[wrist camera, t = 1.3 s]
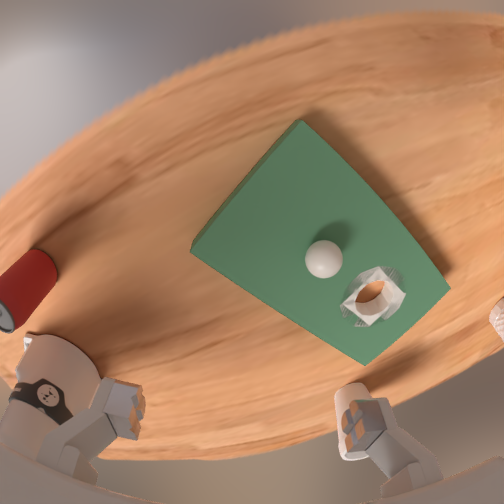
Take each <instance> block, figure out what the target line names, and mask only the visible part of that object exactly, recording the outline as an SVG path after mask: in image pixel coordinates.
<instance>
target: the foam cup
mask: <svg viewBox="0 0 504 504" xmlns="http://www.w3.org/2000/svg"><path fill="white" fill-rule="evenodd" d="M334 398H335V408H336V417H337V427H338V436H339V445H338V447H339V451H340V455H341V457H342V458H343V459H344V460H350V461H351V460H359V459H363V458H366V457H369V456H368V454H367V453H366V452H365V451H359V452H349V453H347V449H346V445H345V438H346V436H347V435H346V434H345V433H344V432H343V431H342V426H341V420H342V415H343V413H344V412H345V411H346V410H347V409H349V408H350V407H349V404H350V402H351V401H353V400H360V399H371V398H372V396H371V395H370V393H369V391H368V390H367V388H366V387H365V385H364V384H362V383H351V384H348V385H345V386H344V387H342V388H340V389H339V390H338V391H337V392H336V393H335V396H334Z"/></svg>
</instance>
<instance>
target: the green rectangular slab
mask: <svg viewBox="0 0 504 504" xmlns="http://www.w3.org/2000/svg"><path fill="white" fill-rule="evenodd" d="M320 240H328V241H331V242H333V243H335V244H336V245H337V246H338V247H339V248H340V250H341V252H342V256H343V262H342V266H341V268H340V270H339V271H338V272H337V273H336V274H335V275H334V276H332V277H329V278H319V277H316V276H314V275H313V274H311V273H310V271H309V270H308V268H307V266H306V263H305V256H306V252H307V250H308V248H309V247H310V246H311V245H312V244H313V243H315V242H317V241H320ZM190 253H192V254H193V255H195V256H196V257H197V258H199V259H200V260H202V261H203V262H205V263H206V264H208V265H209V266H211V267H212V268H213V269H215V270H216V271H218V272H219V273H221V274H222V275H224V276H225V277H227V278H228V279H230V280H231V281H233V282H234V283H236V284H237V285H239V286H240V287H242V288H243V289H245V290H246V291H248V292H249V293H251V294H252V295H254V296H255V297H257V298H258V299H260V300H261V301H263V302H264V303H266V304H267V305H269V306H270V307H272V308H273V309H275V310H276V311H278V312H279V313H281V314H283V315H284V316H286V317H287V318H289V319H290V320H292V321H293V322H295V323H297V324H298V325H300V326H301V327H303V328H304V329H306V330H307V331H309V332H311V333H312V334H314V335H315V336H317V337H319V338H320V339H322V340H323V341H325V342H327V343H328V344H330V345H331V346H333V347H335V348H336V349H338V350H339V351H341V352H343V353H344V354H346V355H347V356H349V357H351V358H352V359H354V360H356V361H357V362H359V363H361V364H362V365H364V366H366V365H367V364H368V363H370V362H371V361H372V360H373V359H375V358H376V357H377V356H378V355H380V354H381V353H382V352H383V351H384V350H386V349H387V348H388V347H389V346H390V345H392V344H393V343H394V342H395V341H396V340H397V339H399V338H400V337H401V336H402V335H403V334H404V333H405V332H406V331H408V330H409V329H410V328H411V327H412V326H413V325H414V324H415V323H416V322H417V321H419V320H420V319H421V318H422V317H423V316H424V315H425V314H426V313H427V312H428V311H429V310H430V309H431V308H432V307H433V306H434V305H435V304H436V303H437V302H438V301H439V300H440V299H441V298H442V297H443V296H444V295H445V294H446V293H447V292H448V291H449V290H450V289H451V288H450V286H449V285H448V283H447V282H446V280H445V279H444V278H443V276H442V275H441V273H440V272H439V271H438V269H437V268H436V266H435V265H434V264H433V262H432V261H431V260H430V258H429V257H428V256H427V254H426V253H425V252H424V250H423V249H422V248H421V246H420V245H419V244H418V243H417V241H416V240H415V239H414V238H413V236H412V235H411V234H410V233H409V231H408V230H407V229H406V228H405V226H404V225H403V224H402V223H401V222H400V220H399V219H398V218H397V217H396V216H395V214H394V213H393V212H392V211H391V210H390V209H389V207H388V206H387V205H386V204H385V203H384V202H383V201H382V199H381V198H380V197H379V196H378V195H377V194H376V193H375V192H374V191H373V189H372V188H371V187H370V186H369V185H368V184H367V183H366V182H365V181H364V180H363V179H362V178H361V177H360V176H359V174H358V173H357V172H356V171H355V170H354V169H353V168H352V167H351V166H350V165H349V164H348V163H347V162H346V161H345V160H344V159H343V158H342V157H341V156H340V155H339V154H338V153H337V152H336V151H335V150H334V149H333V148H332V147H331V146H330V145H329V144H328V143H327V142H325V141H324V140H323V139H322V138H321V137H320V136H319V135H318V134H317V133H316V132H315V131H314V130H313V129H312V128H310V127H309V126H308V125H307V124H306V123H305V122H304V121H303V120H295V122H294V123H293V124H292V125H291V126H290V127H289V128H288V129H287V130H286V131H285V133H284V134H283V135H282V136H281V137H280V138H279V139H278V140H277V141H276V143H275V144H274V145H273V146H272V147H271V148H270V149H269V151H268V152H267V153H266V154H265V155H264V156H263V157H262V158H261V160H260V161H259V162H258V163H257V164H256V165H255V167H254V168H253V169H252V170H251V171H250V172H249V174H248V175H247V176H246V177H245V178H244V179H243V181H242V182H241V183H240V184H239V185H238V186H237V188H236V189H235V190H234V191H233V192H232V194H231V195H230V196H229V197H228V198H227V200H226V201H225V202H224V203H223V204H222V206H221V207H220V208H219V209H218V210H217V212H216V213H215V214H214V215H213V217H212V218H211V219H210V220H209V222H208V223H207V224H206V225H205V226H204V228H203V229H202V230H201V231H200V233H199V234H198V235H197V236H196V238H195V239H194V240H193V243H192V246H191V249H190ZM377 280H380V281H384V282H385V284H384V287H383V289H382V291H381V293H380V294H379V295H378V296H377V297H376V298H375V299H373V300H371V301H368V302H366V303H359V302H355V300H356V298H357V295H358V293H359V291H361V290H362V289H363V288H364V287H365V286H366V285H367V284H369V283H372V282H374V281H377Z"/></svg>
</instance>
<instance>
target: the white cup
mask: <svg viewBox="0 0 504 504" xmlns="http://www.w3.org/2000/svg"><path fill="white" fill-rule="evenodd" d="M489 321H490V323H491V324H492V325H493V327H494V328H495V330H496V332H497V333H498V335H499V336H500V337H501V339H502V340H503V342H504V298H502V299H500V300H499V301H498V302H497V303H496V305H495V306H494V308H493V309H492V311H491V313H490V316H489Z"/></svg>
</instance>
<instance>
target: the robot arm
mask: <svg viewBox="0 0 504 504" xmlns="http://www.w3.org/2000/svg"><path fill="white" fill-rule="evenodd" d="M24 350H25V352H24V354H23V356H22V358H21V360H20V361H19V363H18V365H17V367H16V369H15V371H16V377H17V379H18V383H17V384H16V386H15V388H14V389H13V390H12V392H11V395H10V398H9V405H8V407H7V409H6V411H5V413H4V415H3V417H2V420H1V422H0V504H163V503H158V502H153V501H148V500H144V499H140V498H136V497H131V496H128V495H124V494H120V493H117V492H113V491H110V490H107V489H104V488H100V487H97V486H96V482H97V478H98V473H97V471H96V470H95V469H94V468H93V467H92V465H91V464H90V463H89V462H90V461H92V460H93V459H94V458H95V457H96V456H97V455H98V454H99V453H101V452H102V451H103V450H104V449H105V448H106V447H107V446H108V445H109V444H111V443H112V442H113V441H114V440H115V439H116V438H117V436H118V437H123V438H127V439H132V440H136V441H137V440H138V436H139V432H140V429H141V426H140V423H139V421H140V420H141V419H143V417H144V413H145V406H146V404H145V397H144V396H143V395H142V392H143V389H142V385H138V384H133V383H129V382H124V381H120V380H117V379H112V378H108V377H104V378H103V379H101V378H100V376H99V374H98V371H97V369H96V367H95V365H94V364H93V362H92V361H91V360H90V359H89V358H88V357H87V356H86V355H85V354H84V353H83V352H82V351H81V350H80V349H79V348H77V347H76V346H74V345H73V344H71V343H70V342H68V341H66V340H64V339H62V338H59V337H57V336H53V335H39V336H36V335H32V334H28V333H27V334H25V336H24ZM349 407H350V408H349V409H347V410H346V411H345V412H344V413H343V415H342V420H341V426H342V431H343V432H344V433H345V434H346V435H347V436H346V438H345V445H346V449H347V453H349V452H359V451H365V452H366V453H367V454H368V456H369V457H370V458H371V459H372V460H373V461H374V462H375V463H376V465H377V466H378V467H379V468H380V469H381V470H382V471H383V472H384V473H385V475H386V476H387V477H388V478H389V480H388V481H387V482H385V483H384V484H382V486H381V487H380V489H381V495H382V499H377V500H373V501H368V502H364V503H359V504H504V458H502V457H500V456H495V457H492V458H490V459H488V460H486V461H484V462H482V463H480V464H478V465H476V466H474V467H472V468H469V469H467V470H465V471H463V472H460V473H458V474H456V475H453V476H451V477H448V478H446V479H443V476H442V473H441V470H440V467H439V464H438V461H437V459H436V456H435V455H434V454H433V453H431V452H430V451H429V450H428V449H426V448H425V447H424V446H423V445H422V444H420V443H419V442H418V441H417V440H415V439H414V438H413V437H412V436H411V435H409V434H408V433H407V432H406V431H405V430H403V429H402V428H398V425H397V423H396V420H395V417H394V415H393V412H392V409H391V406H390V404H389V401H388V399H387V398H371V399H360V400H353V401H351V402H350V404H349Z"/></svg>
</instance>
